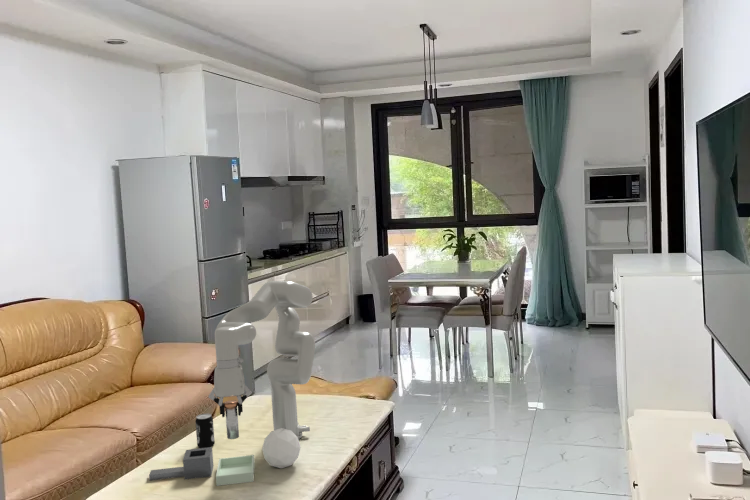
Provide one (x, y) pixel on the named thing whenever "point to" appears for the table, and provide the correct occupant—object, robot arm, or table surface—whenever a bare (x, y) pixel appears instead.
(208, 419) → the beverage can
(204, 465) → the hitch block
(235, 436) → the pin
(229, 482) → the tray
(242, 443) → the table surface
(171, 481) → the table surface
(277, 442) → the geodesic sphere
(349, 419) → the table surface
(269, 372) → the robot arm
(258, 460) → the table surface
